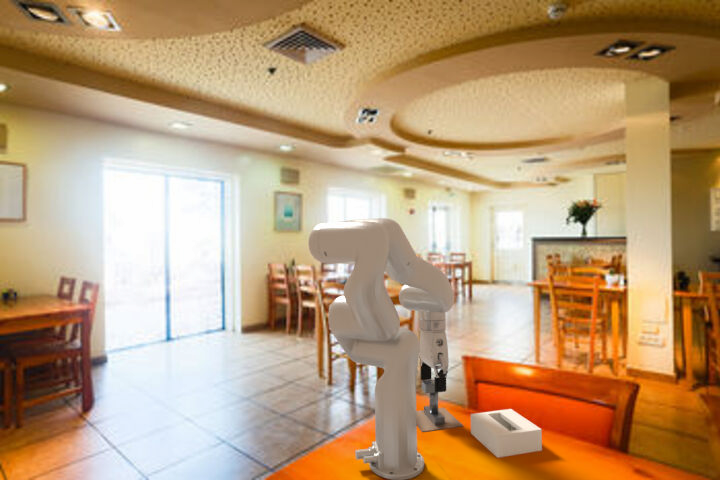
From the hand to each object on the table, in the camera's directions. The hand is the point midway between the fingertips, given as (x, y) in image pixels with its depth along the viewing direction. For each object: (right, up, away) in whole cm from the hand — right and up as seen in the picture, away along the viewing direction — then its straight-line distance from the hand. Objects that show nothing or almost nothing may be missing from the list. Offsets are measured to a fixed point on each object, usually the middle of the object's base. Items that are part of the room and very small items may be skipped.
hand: (433, 385), depth 111 cm
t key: (0, -10, 0) cm, 10 cm away
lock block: (+16, -10, -13) cm, 23 cm away
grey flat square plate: (0, -11, 0) cm, 11 cm away
